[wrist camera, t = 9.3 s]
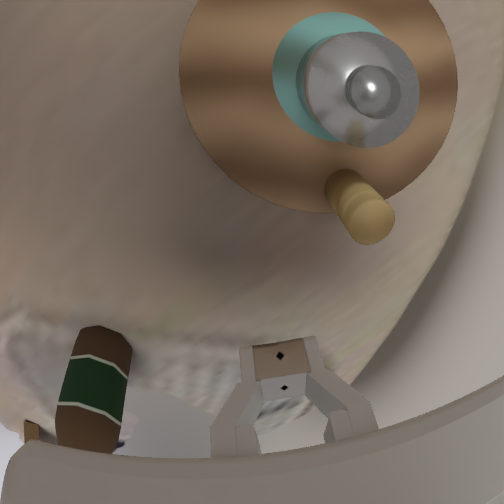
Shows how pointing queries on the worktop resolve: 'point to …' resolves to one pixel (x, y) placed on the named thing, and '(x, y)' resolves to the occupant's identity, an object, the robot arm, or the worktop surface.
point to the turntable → (292, 113)
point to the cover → (359, 88)
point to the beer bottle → (94, 391)
